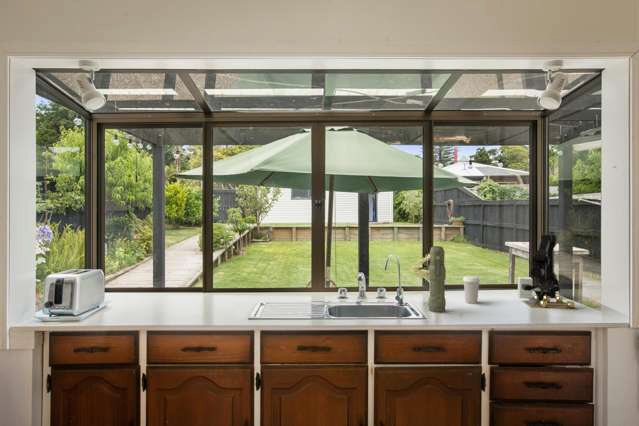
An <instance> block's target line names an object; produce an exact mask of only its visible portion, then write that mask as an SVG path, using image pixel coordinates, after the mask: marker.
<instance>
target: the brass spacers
mask: <svg viewBox="0 0 639 426" xmlns="http://www.w3.org/2000/svg"><path fill="white" fill-rule="evenodd" d="M533 298H535V299H538V298H537V295H536V294H535V295H534V294H533ZM550 300H551V298H550V296H544V298H543V300H540V302H539V303H540V307H541V308H540V309H548V308H547V303H550V302H551V301H550ZM555 302H556V303H563V302H564V296H561V295H556V298H555ZM566 303H567V308H569V309H568V310H575V309H574V307H575V301H572V300H567V302H566Z"/></svg>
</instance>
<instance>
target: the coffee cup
mask: <svg viewBox="0 0 639 426" xmlns="http://www.w3.org/2000/svg"><path fill="white" fill-rule="evenodd" d="M462 281H463V287H464V288H463V289H464V299H465V301H464V302H465V303H466V304H471V305H473V304H477V303H478V300H479V289H480V282H481V280H480V278H479V276H475V275H474V276H473V275H465V276H464V277H463V278H462Z"/></svg>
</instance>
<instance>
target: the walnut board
mask: <svg viewBox="0 0 639 426" xmlns="http://www.w3.org/2000/svg"><path fill="white" fill-rule="evenodd" d="M522 302H523V303H524V304H526V305H527V306H528V307H530V308H531V309H542V308H541V307H540V303H539V305H530V304H529V300H522ZM546 309H552V310H553V309H554V310H556V309H557V310H559V309H560V310H570V309H569V308H567V302H566V301H563V303H556V301H550V303H547V308H546ZM573 310H579V308H577V307H575V306H574V309H573Z"/></svg>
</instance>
